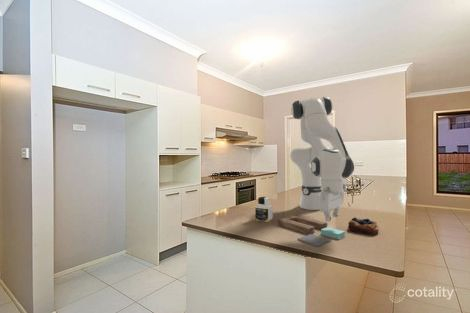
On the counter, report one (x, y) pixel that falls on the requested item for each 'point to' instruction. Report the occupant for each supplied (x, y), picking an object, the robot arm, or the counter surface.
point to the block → (333, 233)
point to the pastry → (363, 226)
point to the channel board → (302, 224)
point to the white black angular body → (263, 210)
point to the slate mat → (314, 240)
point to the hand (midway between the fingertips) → (331, 218)
